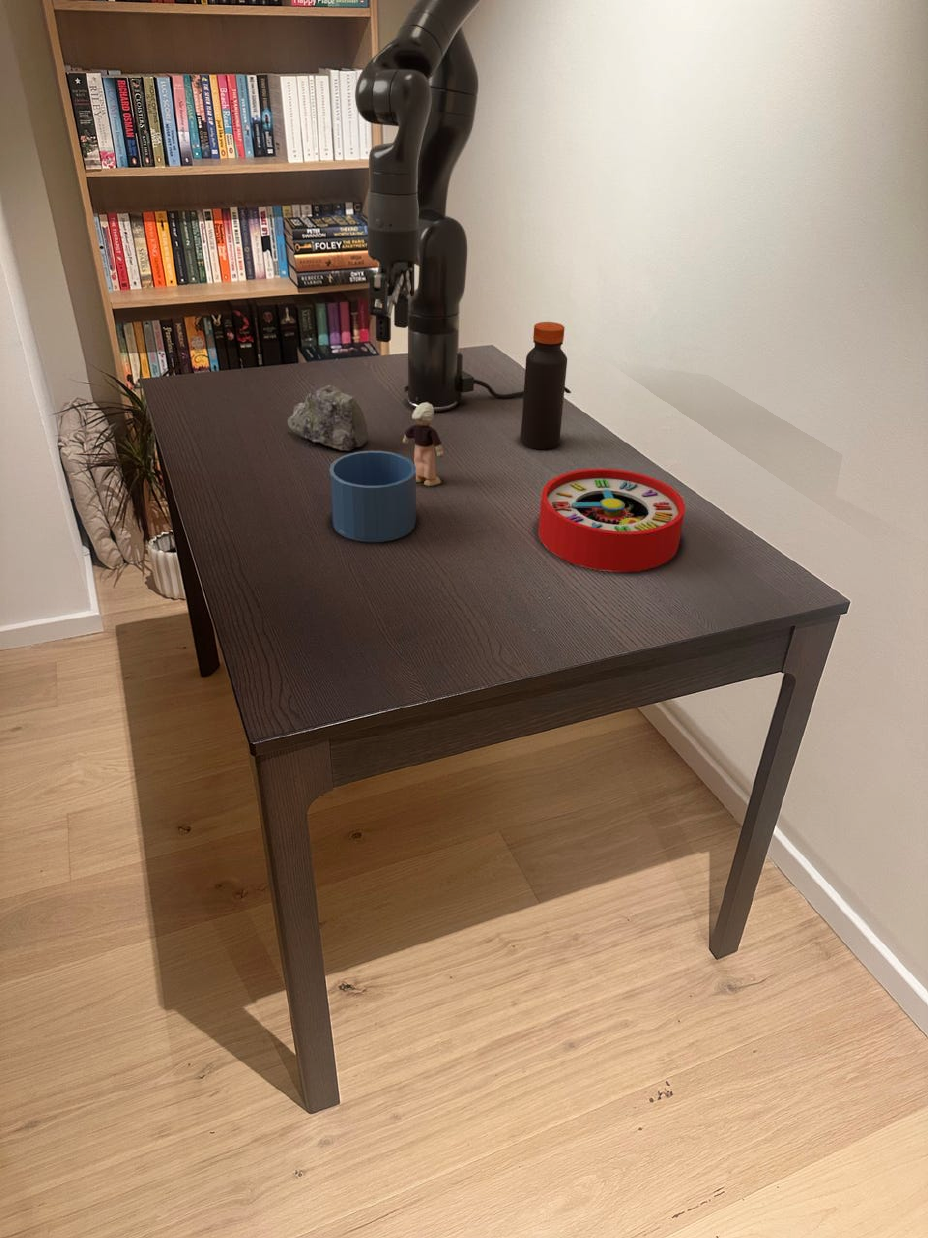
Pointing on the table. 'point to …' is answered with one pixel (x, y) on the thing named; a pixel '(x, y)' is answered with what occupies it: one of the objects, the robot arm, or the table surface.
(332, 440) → the mineral rock
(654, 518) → the toy clock
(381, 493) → the bowl
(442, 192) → the robot arm
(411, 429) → the grandmother figurine
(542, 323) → the bottle
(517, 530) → the table surface
